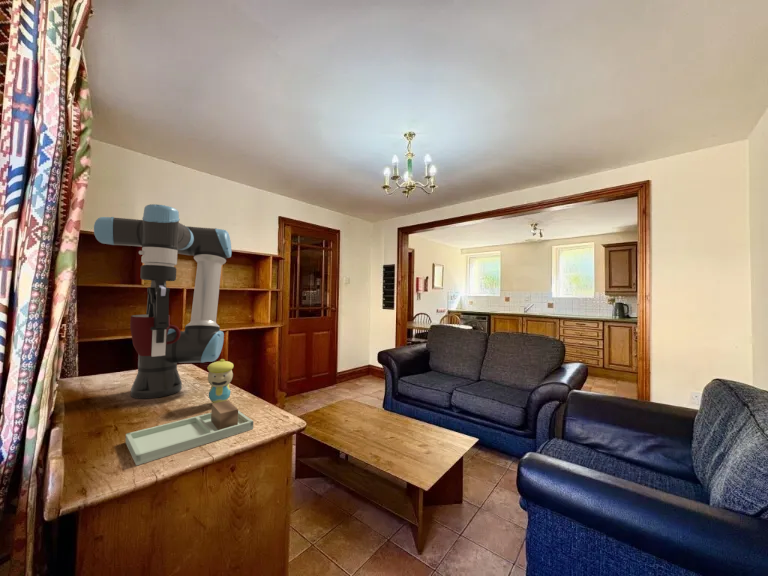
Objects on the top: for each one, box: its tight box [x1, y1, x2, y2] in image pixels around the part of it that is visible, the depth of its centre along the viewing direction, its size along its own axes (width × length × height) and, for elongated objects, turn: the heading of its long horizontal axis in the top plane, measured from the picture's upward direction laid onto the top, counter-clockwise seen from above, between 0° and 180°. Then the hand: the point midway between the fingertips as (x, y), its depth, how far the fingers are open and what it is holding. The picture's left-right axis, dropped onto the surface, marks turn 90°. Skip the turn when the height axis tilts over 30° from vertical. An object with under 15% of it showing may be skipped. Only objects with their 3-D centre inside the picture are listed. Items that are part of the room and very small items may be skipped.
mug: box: [129, 314, 181, 356], centre depth 80 cm, size 10×8×10 cm
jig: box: [125, 410, 254, 467], centre depth 82 cm, size 14×26×2 cm, turn 137°
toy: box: [206, 358, 234, 404], centre depth 104 cm, size 8×9×15 cm
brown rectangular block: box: [210, 399, 239, 430], centre depth 88 cm, size 4×9×5 cm, turn 42°
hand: (155, 353), depth 80 cm, fingers closed on mug, 8 cm apart
